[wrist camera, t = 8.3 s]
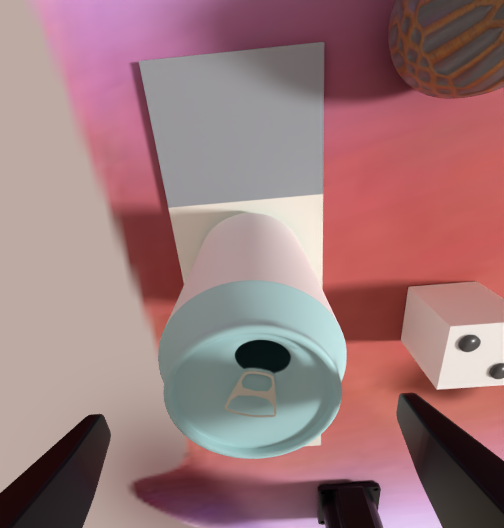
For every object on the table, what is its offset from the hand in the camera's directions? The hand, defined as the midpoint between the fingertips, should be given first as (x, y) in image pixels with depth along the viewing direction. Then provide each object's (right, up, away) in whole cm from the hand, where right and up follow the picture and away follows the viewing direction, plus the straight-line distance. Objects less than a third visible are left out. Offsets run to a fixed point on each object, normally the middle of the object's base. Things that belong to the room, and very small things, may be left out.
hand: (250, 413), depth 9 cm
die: (+14, +1, +14) cm, 20 cm away
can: (0, +5, +12) cm, 13 cm away
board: (0, +1, +13) cm, 14 cm away
